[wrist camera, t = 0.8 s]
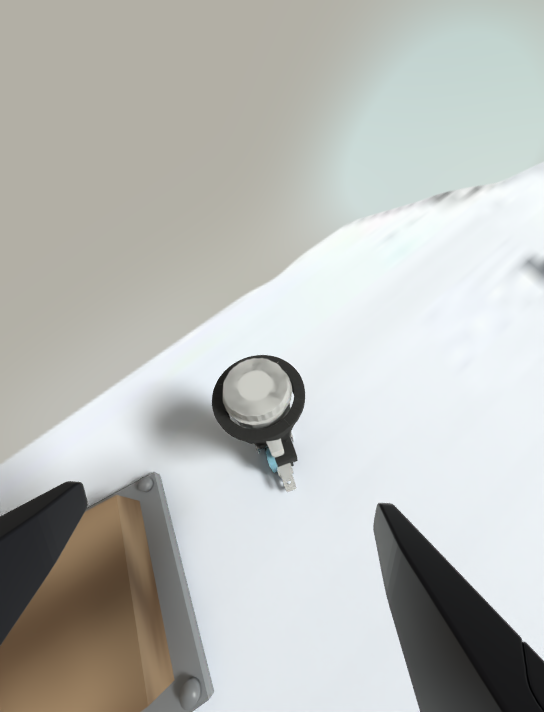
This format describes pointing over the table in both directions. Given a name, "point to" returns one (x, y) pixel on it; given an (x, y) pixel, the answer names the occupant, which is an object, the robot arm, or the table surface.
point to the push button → (262, 408)
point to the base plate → (171, 602)
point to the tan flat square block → (91, 624)
